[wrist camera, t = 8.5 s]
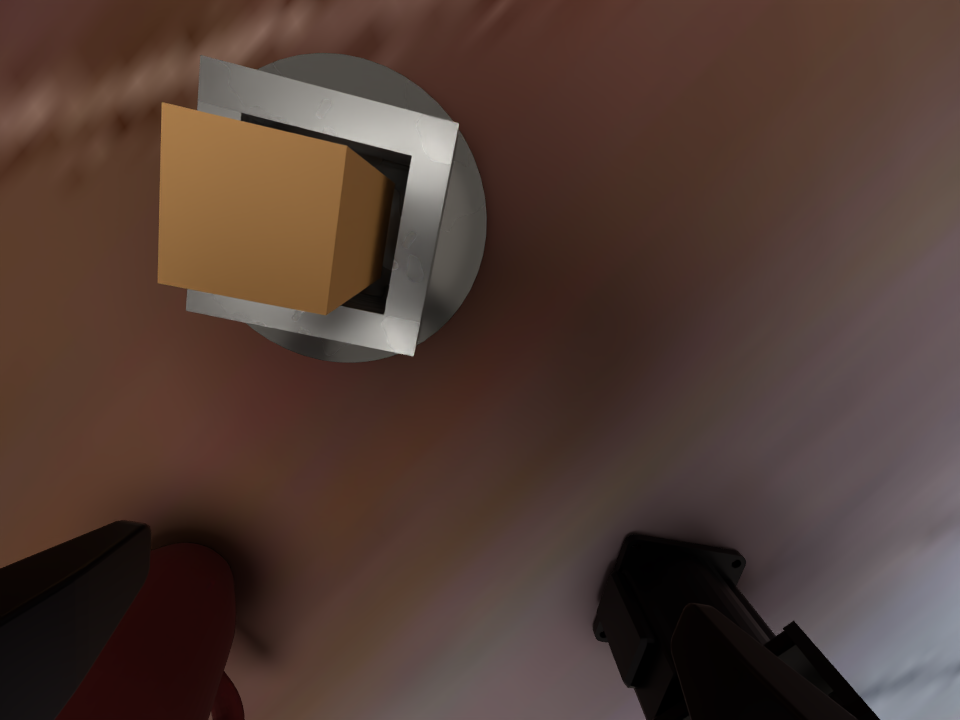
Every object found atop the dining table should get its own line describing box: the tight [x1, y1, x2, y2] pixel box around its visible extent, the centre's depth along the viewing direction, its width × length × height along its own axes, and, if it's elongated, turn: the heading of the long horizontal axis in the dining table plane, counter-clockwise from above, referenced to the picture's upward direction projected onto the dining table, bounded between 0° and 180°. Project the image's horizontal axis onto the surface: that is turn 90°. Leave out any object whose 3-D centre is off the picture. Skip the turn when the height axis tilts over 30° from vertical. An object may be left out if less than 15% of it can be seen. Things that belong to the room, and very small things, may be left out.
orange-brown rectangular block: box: [158, 102, 395, 315], centre depth 13 cm, size 4×4×8 cm
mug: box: [55, 543, 244, 720], centre depth 18 cm, size 11×8×10 cm
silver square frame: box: [186, 53, 487, 362], centre depth 16 cm, size 11×11×4 cm
